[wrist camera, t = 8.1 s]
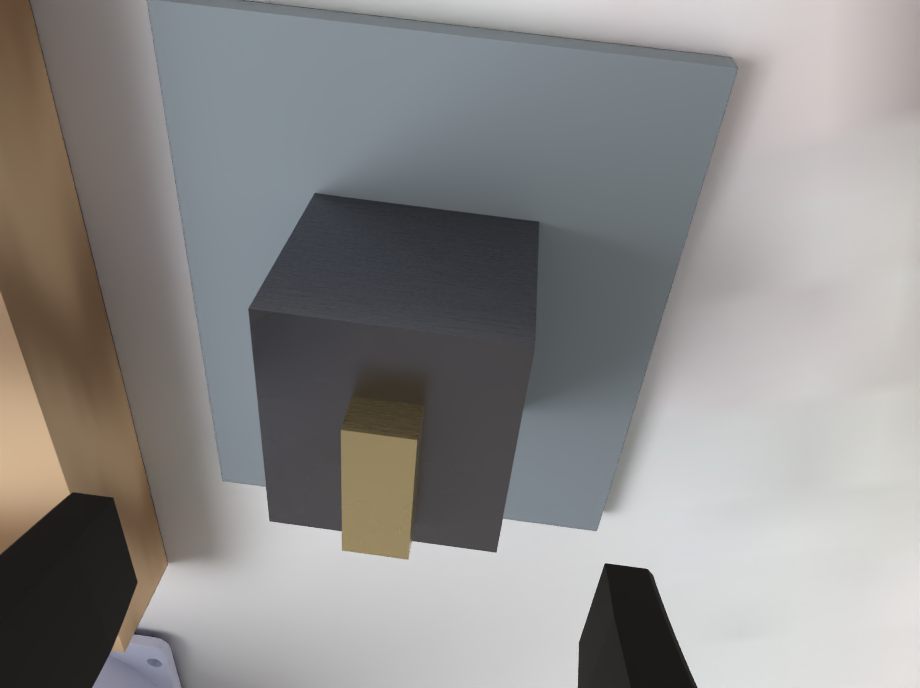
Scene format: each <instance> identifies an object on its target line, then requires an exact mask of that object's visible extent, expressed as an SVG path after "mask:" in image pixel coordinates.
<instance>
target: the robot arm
mask: <svg viewBox="0 0 920 688" xmlns="http://www.w3.org/2000/svg"><path fill="white" fill-rule="evenodd" d="M137 583H138V581H137V578H136V574H135V571H134V567H133V564H132V560H131V557H130V553H129V550H128V546H127V543H126V539H125V536H124V532H123V529H122V526H121V522H120V519H119V515H118V512H117V508H116V505H115V501H114V498H113V497H105V496H98V495H91V494H83V493H76V492H72V493H71V494H70V495H68V496H67V497H66V498H65V499H63V500H62V501H61V502H60V503H59V504H58V505H56V506H55V507H54V508H53V509H52V510H51V511H49V512H48V513H47V514H46V515H45V516H44V517H42V518H41V519H40V520H39V521H38V522H37V523H36V524H34V525H33V526H32V527H31V528H30V529H29V530H28V531H26V532H25V533H24V534H23V535H22V536H21V537H20V538H18V539H17V540H16V541H15V542H14V543H13V544H11V545H10V546H9V547H8V548H7V549H6V550H5V551H3V552H2V553H1V554H0V688H181V685H180V681H179V677H178V674H177V670H176V666H175V663H174V659H173V655H172V652H171V648H170V646H169V644H168V643H167V642H166V641H164V640H162V639H160V638H156V637H149V636H142V635H135V634H134V635H133V637H132V639H131V641H130V643H129V645H128V647H127V649H126V651H125V653H122V652H115V651H112V648H113V646H114V643H115V641H116V638H117V636H118V633H119V631H120V628H121V626H122V623H123V621H124V618H125V616H126V613H127V610H128V608H129V605H130V602H131V599H132V597H133V594H134V591H135V589H136V586H137ZM578 688H697V686H696V683H695V681H694V679H693V677H692V674H691V672H690V670H689V667H688V665H687V663H686V660H685V658H684V656H683V653H682V651H681V648H680V646H679V644H678V641H677V639H676V636H675V634H674V631H673V629H672V626H671V624H670V621H669V618H668V616H667V613H666V611H665V608H664V605H663V602H662V600H661V597H660V594H659V591H658V589H657V586H656V583H655V580H654V577H653V575H652V574H651V572H650V571H649V570H648V569H644V568H636V567H629V566H621V565H614V564H606V563H605V565H604V568H603V571H602V574H601V577H600V580H599V583H598V586H597V589H596V592H595V595H594V598H593V601H592V605H591V608H590V611H589V614H588V617H587V620H586V623H585V626H584V629H583V632H582V635H581V638H580V641H579V667H578Z"/></svg>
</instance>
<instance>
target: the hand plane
mask: <svg viewBox="0 0 920 688" xmlns="http://www.w3.org/2000/svg"><path fill="white" fill-rule="evenodd" d="M72 492H76V493H83V494H91V495H98V496H105V497H113V498H114V501H115V505H116V508H117V512H118V515H119V519H120V522H121V526H122V529H123V532H124V536H125V539H126V543H127V546H128V550H129V553H130V557H131V560H132V564H133V567H134V571H135V574H136V578H137V581H138V583H137V586H136V589H135V591H134V594H133V597H132V599H131V602H130V605H129V608H128V610H127V613H126V616H125V618H124V621H123V623H122V626H121V628H120V631H119V633H118V636H117V638H116V641H115V643H114V646H113V648H112V651H115V652H122V653H125V651H126V649H127V647H128V645H129V643H130V641H131V639H132V637H133V635H134V633H135V631H136V629H137V627H138V625H139V622H140V620H141V618H142V616H143V614H144V612H145V610H146V608H147V606H148V604H149V602H150V600H151V598H152V596H153V594H154V592H155V590H156V588H157V586H158V584H159V582H160V580H161V578H162V576H163V574H164V571H165V569H166V567H167V565H168V563H167V558H166V554H165V550H164V546H163V542H162V538H161V534H160V530H159V526H158V522H157V518H156V514H155V510H154V506H153V502H152V498H151V493H150V489H149V485H148V481H147V477H146V473H145V469H144V465H143V461H142V457H141V453H140V449H139V445H138V441H137V437H136V433H135V429H134V424H133V420H132V416H131V412H130V408H129V404H128V400H127V396H126V392H125V388H124V384H123V380H122V376H121V372H120V368H119V364H118V360H117V355H116V351H115V347H114V343H113V339H112V335H111V331H110V327H109V323H108V319H107V315H106V311H105V307H104V303H103V299H102V295H101V291H100V286H99V282H98V278H97V274H96V270H95V266H94V262H93V258H92V254H91V250H90V246H89V242H88V238H87V234H86V230H85V226H84V221H83V217H82V213H81V209H80V205H79V201H78V197H77V193H76V189H75V185H74V181H73V177H72V173H71V169H70V165H69V161H68V157H67V152H66V148H65V144H64V140H63V136H62V132H61V128H60V124H59V120H58V116H57V112H56V108H55V104H54V100H53V96H52V92H51V88H50V83H49V79H48V75H47V71H46V67H45V63H44V59H43V55H42V51H41V47H40V43H39V39H38V35H37V31H36V27H35V23H34V19H33V14H32V10H31V6H30V2H29V0H0V554H1V553H2V552H3V551H5V550H6V549H7V548H8V547H9V546H10V545H11V544H13V543H14V542H15V541H16V540H17V539H18V538H20V537H21V536H22V535H23V534H24V533H25V532H26V531H28V530H29V529H30V528H31V527H32V526H33V525H34V524H36V523H37V522H38V521H39V520H40V519H41V518H42V517H44V516H45V515H46V514H47V513H48V512H49V511H51V510H52V509H53V508H54V507H55V506H56V505H58V504H59V503H60V502H61V501H62V500H63V499H65V498H66V497H67V496H68V495H70V494H71V493H72Z"/></svg>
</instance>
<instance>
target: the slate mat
mask: <svg viewBox="0 0 920 688" xmlns="http://www.w3.org/2000/svg"><path fill="white" fill-rule="evenodd" d="M147 4H148V10H149V16H150V23H151V29H152V35H153V42H154V48H155V55H156V61H157V67H158V74H159V80H160V86H161V93H162V99H163V105H164V112H165V118H166V125H167V131H168V137H169V144H170V150H171V156H172V163H173V169H174V175H175V182H176V188H177V194H178V201H179V207H180V214H181V220H182V226H183V233H184V239H185V245H186V252H187V258H188V264H189V271H190V277H191V284H192V290H193V296H194V303H195V309H196V315H197V322H198V328H199V334H200V341H201V347H202V353H203V360H204V366H205V373H206V379H207V385H208V392H209V398H210V404H211V411H212V417H213V423H214V430H215V436H216V442H217V449H218V455H219V462H220V468H221V474H222V481H228V482H235V483H243V484H250V485H258V486H265V487H266V480H265V470H264V460H263V451H262V441H261V431H260V421H259V411H258V401H257V391H256V381H255V371H254V362H253V352H252V342H251V332H250V322H249V312H248V308H249V306H250V305H251V303H252V301H253V299H254V298H255V296H256V294H257V292H258V291H259V289H260V287H261V285H262V284H263V282H264V280H265V279H266V277H267V275H268V273H269V272H270V270H271V268H272V266H273V265H274V263H275V261H276V259H277V258H278V256H279V254H280V252H281V251H282V249H283V247H284V245H285V244H286V242H287V240H288V238H289V237H290V235H291V233H292V232H293V230H294V228H295V226H296V225H297V223H298V221H299V219H300V218H301V216H302V214H303V212H304V211H305V209H306V207H307V205H308V204H309V202H310V200H311V198H312V197H313V195H314V193H317V194H325V195H333V196H341V197H349V198H357V199H365V200H372V201H380V202H388V203H396V204H404V205H412V206H420V207H428V208H436V209H443V210H451V211H459V212H467V213H475V214H483V215H491V216H499V217H507V218H514V219H522V220H530V221H538V222H539V248H538V279H537V309H536V339H535V350H534V356H533V361H532V366H531V372H530V377H529V382H528V387H527V393H526V398H525V403H524V409H523V414H522V419H521V425H520V430H519V435H518V440H517V446H516V451H515V456H514V462H513V467H512V472H511V478H510V483H509V488H508V493H507V499H506V504H505V509H504V515H503V519H510V520H517V521H525V522H532V523H540V524H547V525H555V526H562V527H569V528H577V529H584V530H592V531H597V529H598V526H599V523H600V519H601V516H602V513H603V509H604V506H605V503H606V500H607V496H608V493H609V490H610V486H611V483H612V480H613V477H614V473H615V470H616V467H617V463H618V460H619V457H620V454H621V450H622V447H623V444H624V440H625V437H626V434H627V431H628V427H629V424H630V421H631V417H632V414H633V411H634V408H635V404H636V401H637V398H638V395H639V391H640V388H641V385H642V381H643V378H644V375H645V372H646V368H647V365H648V362H649V358H650V355H651V352H652V349H653V345H654V342H655V339H656V335H657V332H658V329H659V326H660V322H661V319H662V316H663V312H664V309H665V306H666V303H667V299H668V296H669V293H670V289H671V286H672V283H673V280H674V276H675V273H676V270H677V266H678V263H679V260H680V257H681V253H682V250H683V247H684V243H685V240H686V237H687V234H688V230H689V227H690V224H691V221H692V217H693V214H694V211H695V207H696V204H697V201H698V198H699V194H700V191H701V188H702V184H703V181H704V178H705V175H706V171H707V168H708V165H709V161H710V158H711V155H712V152H713V148H714V145H715V142H716V138H717V135H718V132H719V129H720V125H721V122H722V119H723V115H724V112H725V109H726V106H727V102H728V99H729V96H730V92H731V89H732V86H733V83H734V79H735V76H736V73H737V69H738V68H737V66H736V64H735V63H734V61H733V60H732V58H731V57H723V56H714V55H706V54H697V53H689V52H680V51H671V50H663V49H654V48H646V47H637V46H629V45H620V44H611V43H603V42H594V41H586V40H577V39H568V38H560V37H551V36H543V35H534V34H526V33H517V32H508V31H500V30H491V29H483V28H474V27H466V26H457V25H448V24H440V23H431V22H423V21H414V20H405V19H397V18H388V17H380V16H371V15H363V14H354V13H345V12H337V11H328V10H320V9H311V8H302V7H294V6H285V5H277V4H268V3H260V2H251V1H242V0H147Z"/></svg>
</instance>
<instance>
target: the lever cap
mask: <svg viewBox="0 0 920 688" xmlns="http://www.w3.org/2000/svg"><path fill="white" fill-rule="evenodd" d="M538 248H539V222H538V221H530V220H522V219H514V218H507V217H499V216H491V215H483V214H475V213H467V212H459V211H451V210H443V209H436V208H428V207H420V206H412V205H404V204H396V203H388V202H380V201H372V200H365V199H357V198H349V197H341V196H333V195H325V194H317V193H314V195H313V197H312V198H311V200H310V202H309V204H308V205H307V207H306V209H305V211H304V212H303V214H302V216H301V218H300V219H299V221H298V223H297V225H296V226H295V228H294V230H293V232H292V233H291V235H290V237H289V238H288V240H287V242H286V244H285V245H284V247H283V249H282V251H281V252H280V254H279V256H278V258H277V259H276V261H275V263H274V265H273V266H272V268H271V270H270V272H269V273H268V275H267V277H266V279H265V280H264V282H263V284H262V285H261V287H260V289H259V291H258V292H257V294H256V296H255V298H254V299H253V301H252V303H251V305H250V306H249V308H248V312H249V322H250V332H251V342H252V352H253V362H254V371H255V381H256V391H257V401H258V411H259V421H260V431H261V441H262V451H263V460H264V470H265V480H266V490H267V500H268V510H269V520H270V521H272V522H279V523H287V524H294V525H301V526H308V527H315V528H323V529H330V530H337V531H342V550H344V551H351V552H358V553H365V554H372V555H380V556H387V557H394V558H401V559H408V558H409V553H410V548H411V542H412V541H417V542H424V543H431V544H438V545H446V546H453V547H460V548H467V549H474V550H482V551H489V552H497V546H498V541H499V536H500V531H501V525H502V520H503V515H504V509H505V504H506V499H507V493H508V488H509V483H510V478H511V472H512V467H513V462H514V456H515V451H516V446H517V440H518V435H519V430H520V425H521V419H522V414H523V409H524V403H525V398H526V393H527V387H528V382H529V377H530V372H531V366H532V361H533V356H534V350H535V339H536V309H537V279H538Z"/></svg>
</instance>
